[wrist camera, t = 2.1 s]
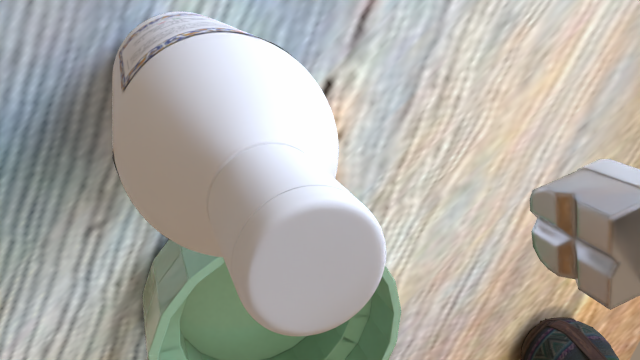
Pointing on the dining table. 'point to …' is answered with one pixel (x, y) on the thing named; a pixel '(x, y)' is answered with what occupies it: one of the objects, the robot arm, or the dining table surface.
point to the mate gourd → (565, 342)
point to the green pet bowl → (247, 318)
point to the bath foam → (243, 169)
